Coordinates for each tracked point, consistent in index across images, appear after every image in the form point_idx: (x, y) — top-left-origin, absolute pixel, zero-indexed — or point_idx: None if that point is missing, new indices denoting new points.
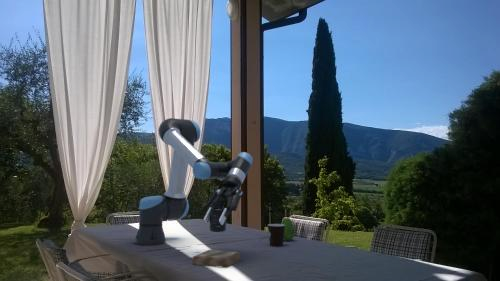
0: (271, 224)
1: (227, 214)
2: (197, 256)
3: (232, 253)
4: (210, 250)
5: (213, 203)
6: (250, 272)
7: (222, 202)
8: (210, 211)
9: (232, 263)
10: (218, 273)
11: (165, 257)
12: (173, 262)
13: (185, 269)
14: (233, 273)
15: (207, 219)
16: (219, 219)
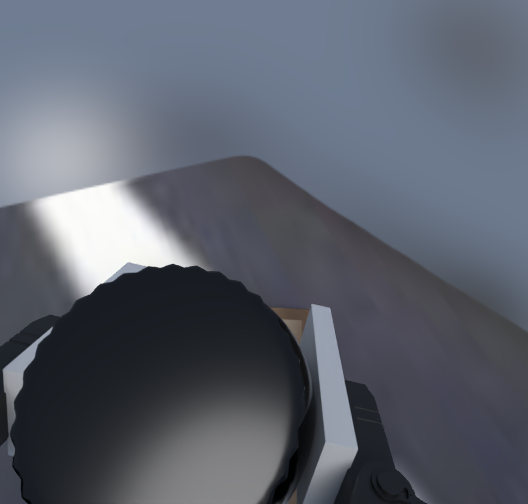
0: None
1: (28, 333)
2: (294, 320)
3: None
4: (292, 500)
5: (236, 288)
6: (18, 259)
7: (37, 364)
8: (273, 311)
9: None
10: (148, 212)
11: (506, 419)
12: (403, 328)
13: (291, 232)
14: (89, 226)
15: (303, 349)
16: (137, 271)
